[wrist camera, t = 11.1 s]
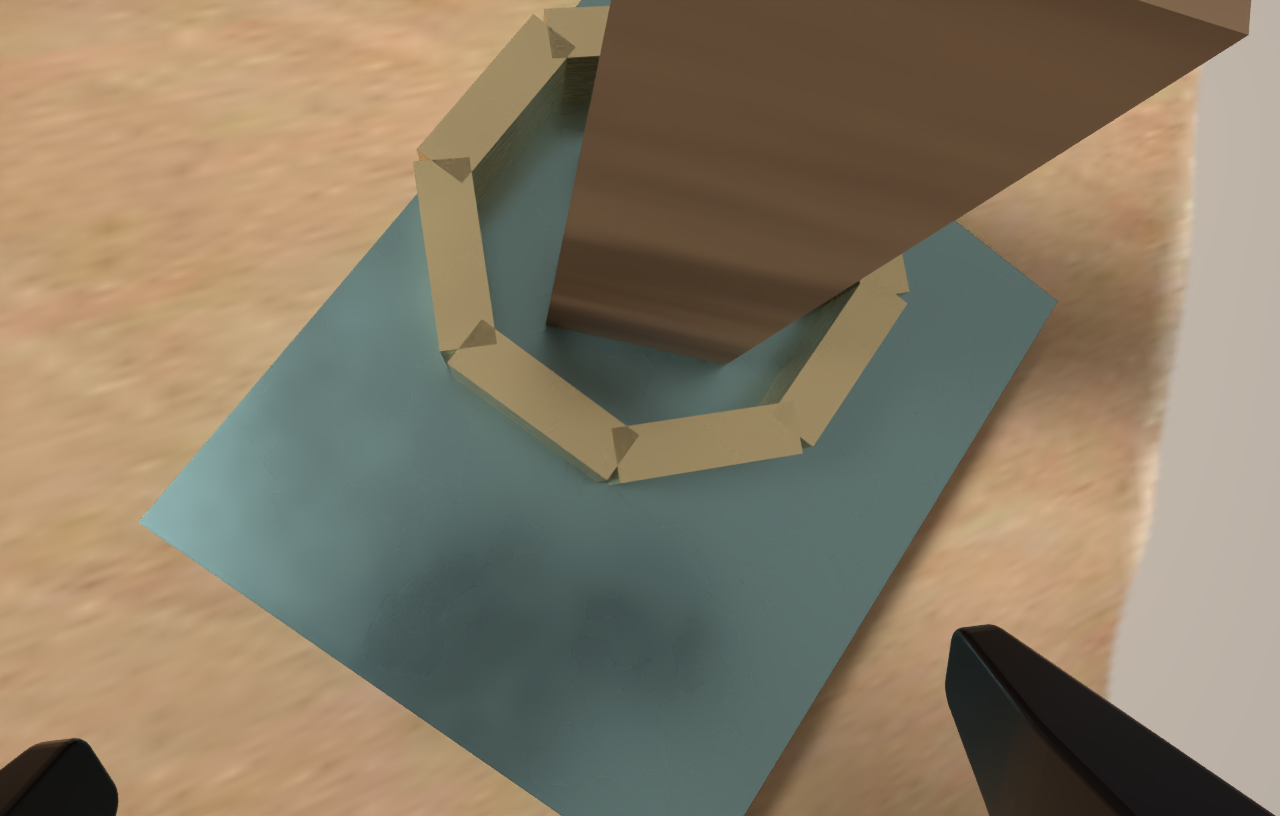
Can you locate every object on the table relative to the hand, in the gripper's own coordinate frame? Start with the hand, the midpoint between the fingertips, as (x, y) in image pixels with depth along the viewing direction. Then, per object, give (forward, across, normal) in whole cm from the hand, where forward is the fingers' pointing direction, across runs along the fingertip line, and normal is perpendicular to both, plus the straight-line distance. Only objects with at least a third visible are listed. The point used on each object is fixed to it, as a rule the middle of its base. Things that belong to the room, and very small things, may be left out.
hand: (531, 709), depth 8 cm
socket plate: (+12, -2, +3) cm, 12 cm away
